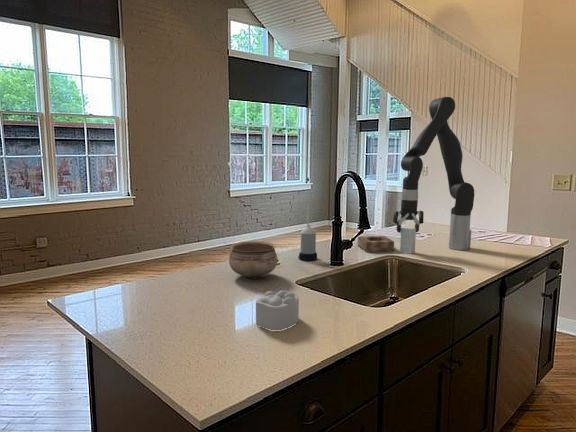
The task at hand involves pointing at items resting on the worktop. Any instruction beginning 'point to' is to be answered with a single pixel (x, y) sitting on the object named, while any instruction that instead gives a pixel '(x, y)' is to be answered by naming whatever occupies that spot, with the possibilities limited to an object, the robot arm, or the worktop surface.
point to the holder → (375, 244)
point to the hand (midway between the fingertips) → (407, 232)
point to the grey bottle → (308, 242)
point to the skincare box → (407, 240)
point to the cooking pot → (253, 259)
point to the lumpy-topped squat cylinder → (277, 310)
